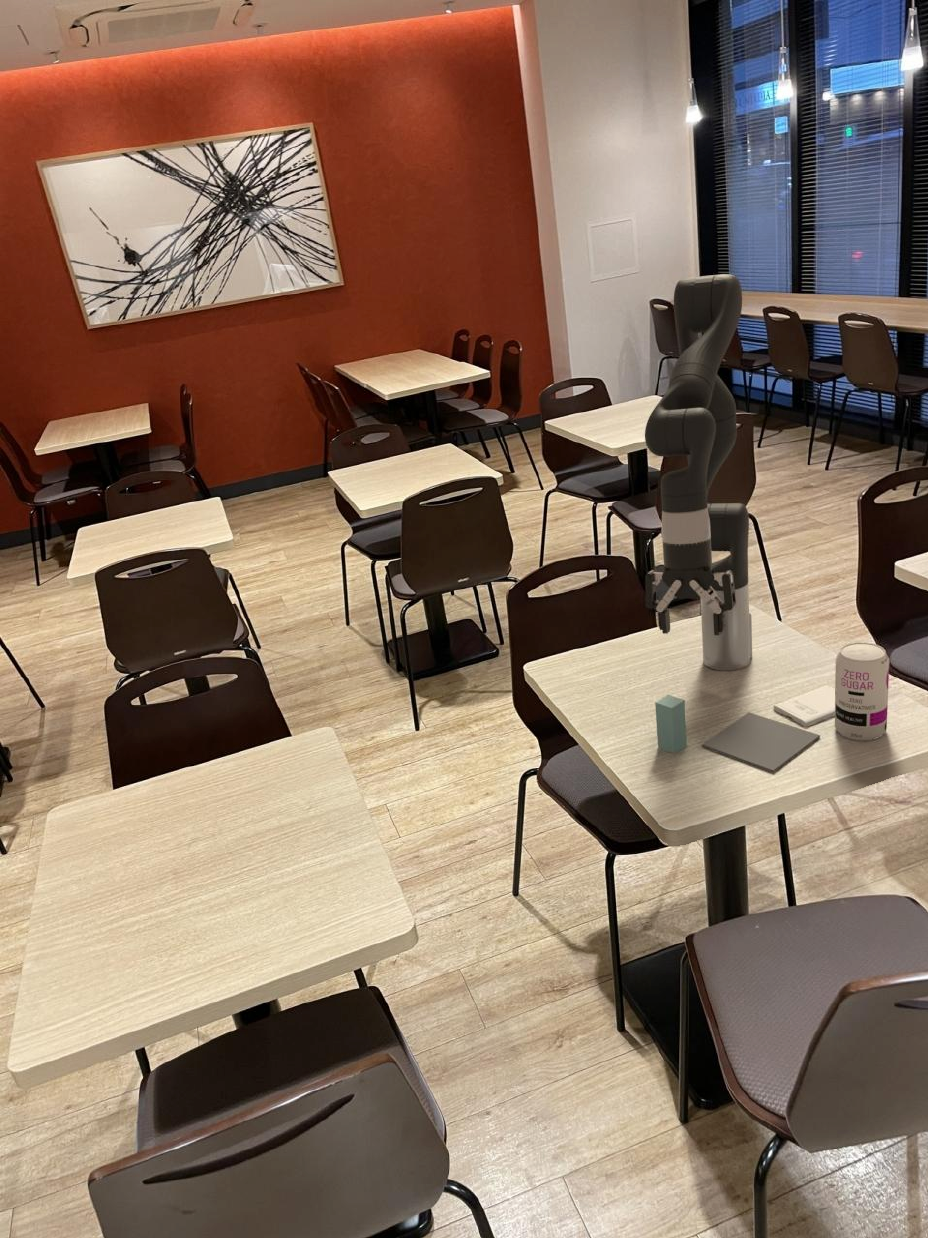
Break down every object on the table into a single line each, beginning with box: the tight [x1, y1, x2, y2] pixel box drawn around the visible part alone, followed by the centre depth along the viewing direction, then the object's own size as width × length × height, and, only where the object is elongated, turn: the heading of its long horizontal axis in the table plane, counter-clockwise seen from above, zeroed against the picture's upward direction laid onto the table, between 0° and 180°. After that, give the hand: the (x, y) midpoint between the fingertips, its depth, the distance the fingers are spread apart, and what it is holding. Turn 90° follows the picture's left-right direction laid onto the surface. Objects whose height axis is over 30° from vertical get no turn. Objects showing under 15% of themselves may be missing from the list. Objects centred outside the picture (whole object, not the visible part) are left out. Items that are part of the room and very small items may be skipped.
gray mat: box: [701, 711, 821, 774], centre depth 162 cm, size 14×14×1 cm
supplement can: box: [834, 642, 890, 742], centre depth 158 cm, size 8×8×15 cm
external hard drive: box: [773, 684, 835, 728], centre depth 170 cm, size 2×8×12 cm
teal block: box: [654, 694, 688, 755], centre depth 162 cm, size 4×4×9 cm
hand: (691, 633), depth 154 cm, fingers open, 8 cm apart
